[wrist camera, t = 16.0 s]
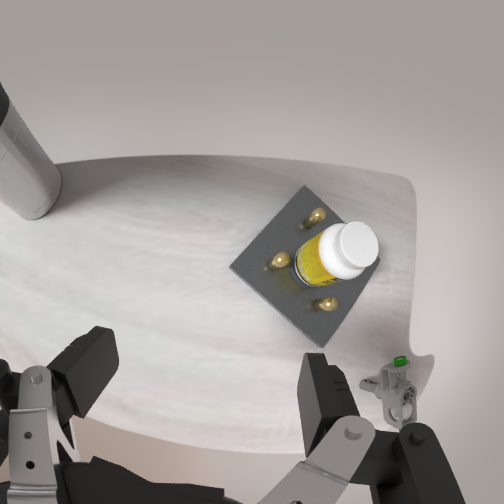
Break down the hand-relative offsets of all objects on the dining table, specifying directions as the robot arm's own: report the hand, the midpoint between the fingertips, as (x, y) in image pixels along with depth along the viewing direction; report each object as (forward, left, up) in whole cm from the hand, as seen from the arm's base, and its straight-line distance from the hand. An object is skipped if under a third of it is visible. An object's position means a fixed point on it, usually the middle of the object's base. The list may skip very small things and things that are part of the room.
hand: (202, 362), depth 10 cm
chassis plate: (+6, +17, -23) cm, 29 cm away
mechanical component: (+24, +9, -23) cm, 34 cm away
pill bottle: (+6, +16, -22) cm, 28 cm away
